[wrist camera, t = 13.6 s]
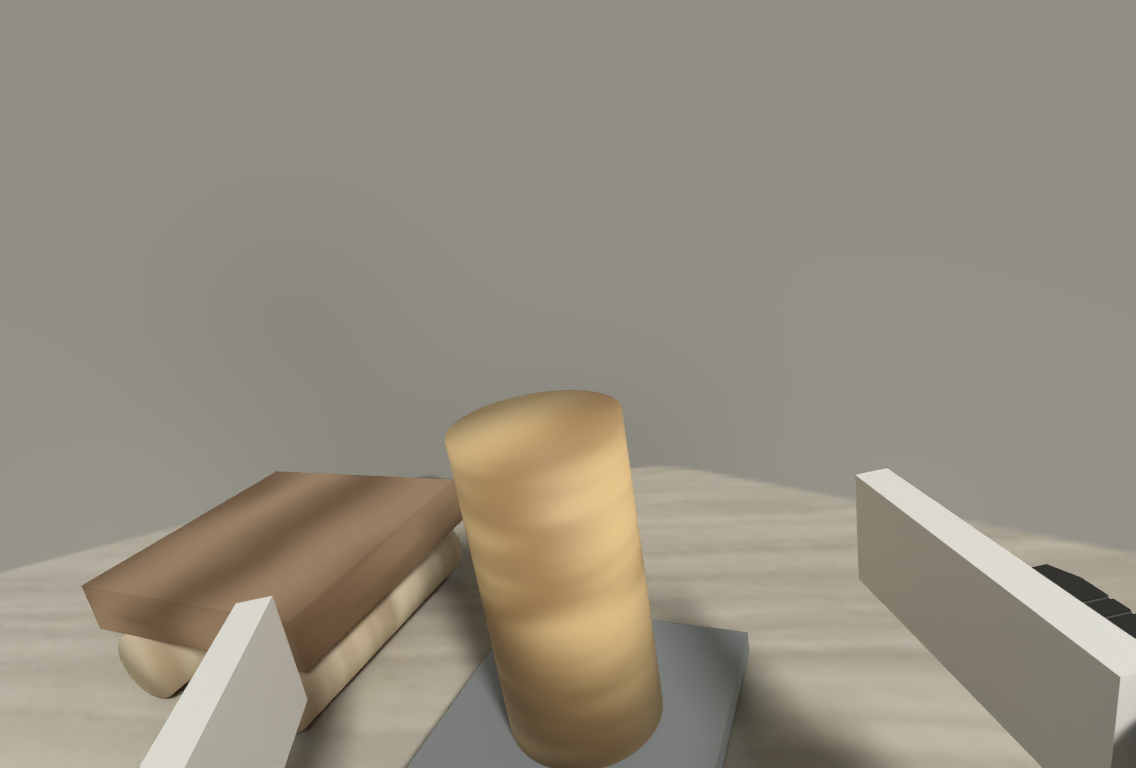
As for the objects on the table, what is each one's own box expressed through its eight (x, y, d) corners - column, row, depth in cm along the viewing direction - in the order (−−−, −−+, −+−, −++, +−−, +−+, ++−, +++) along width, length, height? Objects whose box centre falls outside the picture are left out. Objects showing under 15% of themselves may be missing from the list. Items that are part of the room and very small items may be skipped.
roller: (482, 752, 21) (409, 456, 18) (547, 643, 25) (497, 391, 22) (637, 788, 19) (583, 461, 16) (679, 663, 23) (643, 388, 20)
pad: (396, 810, 20) (390, 789, 20) (528, 619, 28) (524, 603, 28) (692, 901, 16) (689, 876, 16) (749, 651, 24) (747, 632, 24)
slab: (126, 689, 28) (81, 585, 26) (303, 555, 36) (276, 471, 35) (329, 743, 23) (289, 621, 22) (476, 574, 32) (454, 479, 30)
